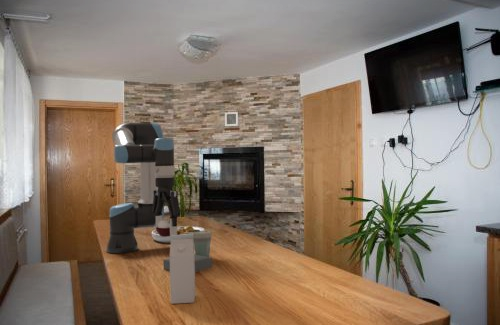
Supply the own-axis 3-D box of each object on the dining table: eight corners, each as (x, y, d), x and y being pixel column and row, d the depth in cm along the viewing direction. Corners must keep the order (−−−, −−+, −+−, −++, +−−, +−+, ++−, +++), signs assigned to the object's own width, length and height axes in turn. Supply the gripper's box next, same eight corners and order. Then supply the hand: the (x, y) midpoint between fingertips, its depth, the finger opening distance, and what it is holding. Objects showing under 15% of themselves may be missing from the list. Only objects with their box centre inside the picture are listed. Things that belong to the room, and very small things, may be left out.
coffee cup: (208, 261, 169) (208, 234, 169) (190, 261, 170) (189, 233, 170) (214, 256, 177) (213, 230, 177) (196, 256, 179) (196, 230, 179)
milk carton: (173, 296, 125) (171, 237, 125) (195, 295, 126) (194, 237, 126) (170, 304, 118) (169, 242, 118) (194, 303, 119) (192, 241, 119)
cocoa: (154, 236, 155) (151, 206, 155) (167, 233, 159) (165, 204, 159) (166, 238, 148) (163, 207, 148) (180, 235, 152) (177, 205, 152)
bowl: (215, 236, 228) (214, 223, 228) (180, 246, 202) (179, 231, 202) (177, 232, 244) (177, 220, 244) (140, 241, 218) (140, 227, 218)
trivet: (163, 269, 158) (163, 258, 158) (190, 262, 168) (190, 252, 168) (184, 275, 149) (184, 264, 149) (211, 267, 159) (211, 257, 159)
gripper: (142, 177, 159) (143, 231, 159) (172, 177, 144) (174, 237, 144) (158, 176, 164) (159, 229, 164) (189, 176, 149) (190, 234, 149)
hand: (166, 233), depth 154 cm, fingers closed on cocoa, 9 cm apart
